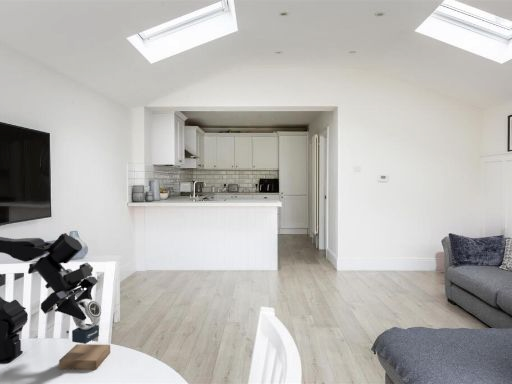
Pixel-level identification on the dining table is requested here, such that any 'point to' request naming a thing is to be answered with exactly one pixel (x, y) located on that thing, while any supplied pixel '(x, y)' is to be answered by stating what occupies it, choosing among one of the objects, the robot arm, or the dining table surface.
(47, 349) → the dining table surface
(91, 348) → the plinth
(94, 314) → the watch
